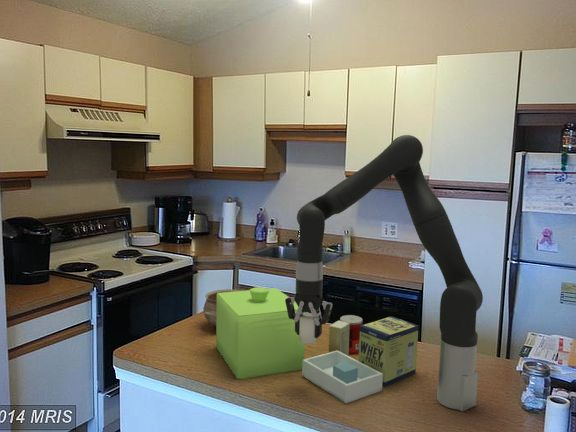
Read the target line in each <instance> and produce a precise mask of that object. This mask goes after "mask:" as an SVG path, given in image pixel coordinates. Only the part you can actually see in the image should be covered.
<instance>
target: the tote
mask: <svg viewBox="0 0 576 432" xmlns="http://www.w3.org/2000/svg"><path fill="white" fill-rule="evenodd" d="M343 362H348V363H350V364H352V365H353V366H355V367H357V368H358V377H357V381H354V382H351V383H348V384H346V383H345V382H343V381H341V380H339V379H338V378H336V377H334V376H333V365H336V364H340V363H343ZM301 370H302V371H301V376H302V377H303V378H305V379H306V380H308V381H310V382H311V383H312V384H314V385H316V386H318V387H319V388H321V389H322V390H324V391H326V392H327V393H329V394H330V395H332V396H333V397H335V398H336V399H338V400H340V401H341V402H343V403H344V404H349V403H351V402H355V401H357V400H359V399H362V398H365V397H368V396H371V395H373V394H376V393H379V392H382V391H383V386H382V381H383V374H382V373H380V372H378V371H376V370H375V369H373V368H371V367H369V366H367V365H365V364H363V363H361V362H359V360H357V359H355V358H353V357H351V356H347V355H345V354H343V353H341V352H340V351H338V350H337V351H333V352H329V351H328V352H327V353H322V354H319V355H315V356H312V357H307V358H304V360H303V363H302V369H301Z"/></svg>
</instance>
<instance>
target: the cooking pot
mask: <svg viewBox="0 0 576 432" xmlns="http://www.w3.org/2000/svg"><path fill="white" fill-rule="evenodd" d="M235 291H243V290H241V289H233V288H232V289H231V288H230V289H229V288H228V289H227V288H226V289H217V290H213V291H209V292H208V293H206V294H205V302H204V305H203V307H202V308H203V311H202V312H203V314H204V317H205V319H206V320H207V322H208V323H210V324H211V325H213V326H215V327H216V313H217V293H223V292H235Z"/></svg>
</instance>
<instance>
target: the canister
mask: <svg viewBox="0 0 576 432" xmlns="http://www.w3.org/2000/svg"><path fill="white" fill-rule="evenodd" d="M288 297H289V296H288V295H287V294H286V293H284V292H283V291H281V290H280V289H278V288H276V287H273V288H266V287H264V286H263V287H260V286H256V287H252V288H250V289H248V290H242V291H235V292H223V293H217V313H216V326H215V327H216V329H215V331H216V335H215V336H216V337H215V338H216V339H215V343H216V345H215V346H216V347H217V348H216V350H217V349H218V350H219V351H218V350H217V351H218V353H219V352H220V353H221V354H220V353H219V354H220V356H221V355H222V356H223V357H222V356H221V357H222V359H223V358H224V359H223V360H224V362H225V361H226V362H225V363H226V365H227V364H228V365H227V366H228V368H229V367H230V368H229V369H230V370H232V371H231V372H232V373H233V374H232V375H234V376H235V378H236V380H245V379H249V378H251V379H252V378H256V377H262V376H264V377H265V376H269V375H274V374H275V375H276V374H281V373H282V374H283V373H289V372H294V371H300V370H302V363H303V360H304V359H305V350H306V349H305V348H306V347H305V346H306V344H303V343H300V342H299V335H297V332H295V321H294V320H293V319H289V317H288V312H287V307H286V302H285V299H287V298H288ZM294 309H295V314H296V312H297V310H298V305H297V304H296V302H295V303H294ZM304 314H307V312H304V313H303V315H304Z"/></svg>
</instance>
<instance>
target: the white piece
mask: <svg viewBox="0 0 576 432" xmlns="http://www.w3.org/2000/svg"><path fill="white" fill-rule="evenodd" d="M315 325H316V323H315V320H314V318H313V316H312V313H308V314H307V313H306V314H304V315H301V316H300V320H299V342H300V343H303V344H305V345H312V344H317V341H318V338H315Z"/></svg>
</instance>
